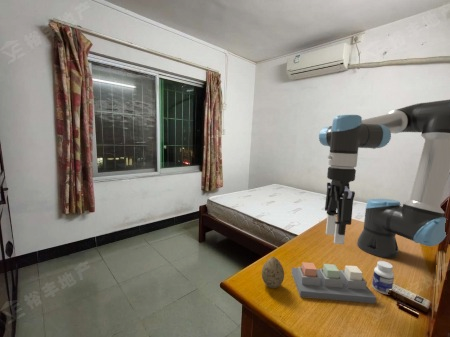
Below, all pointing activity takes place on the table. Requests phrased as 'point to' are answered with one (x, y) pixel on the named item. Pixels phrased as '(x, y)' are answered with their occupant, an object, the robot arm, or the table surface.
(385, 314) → the table surface
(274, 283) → the decorative egg
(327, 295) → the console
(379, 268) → the pill bottle
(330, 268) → the sage button
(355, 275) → the cream button
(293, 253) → the table surface
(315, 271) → the terracotta button
